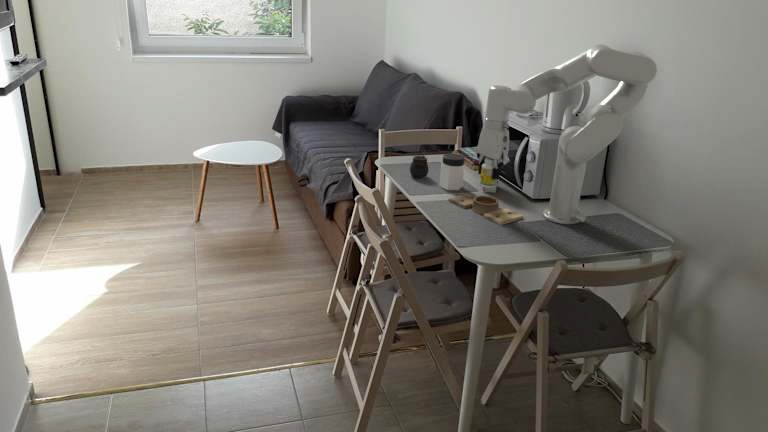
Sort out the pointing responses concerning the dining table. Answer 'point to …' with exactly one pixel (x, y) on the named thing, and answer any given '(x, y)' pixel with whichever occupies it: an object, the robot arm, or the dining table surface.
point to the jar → (452, 172)
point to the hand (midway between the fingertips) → (488, 175)
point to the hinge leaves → (486, 208)
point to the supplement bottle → (487, 173)
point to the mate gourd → (419, 166)
